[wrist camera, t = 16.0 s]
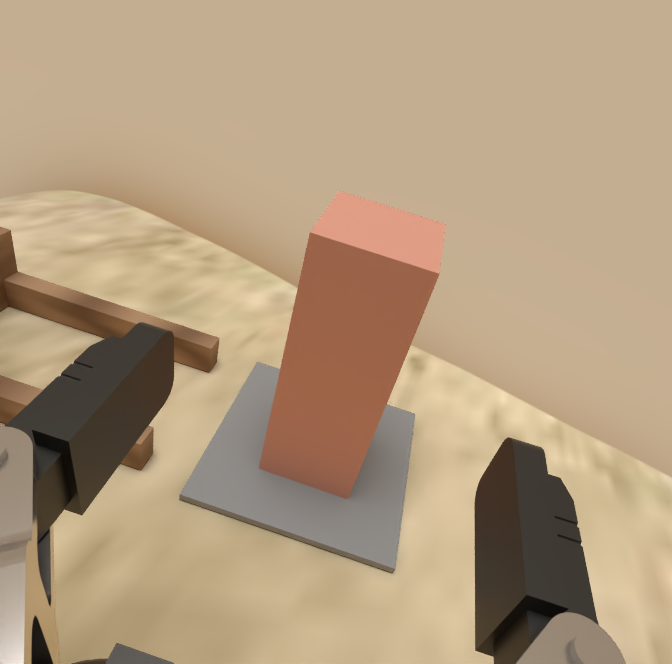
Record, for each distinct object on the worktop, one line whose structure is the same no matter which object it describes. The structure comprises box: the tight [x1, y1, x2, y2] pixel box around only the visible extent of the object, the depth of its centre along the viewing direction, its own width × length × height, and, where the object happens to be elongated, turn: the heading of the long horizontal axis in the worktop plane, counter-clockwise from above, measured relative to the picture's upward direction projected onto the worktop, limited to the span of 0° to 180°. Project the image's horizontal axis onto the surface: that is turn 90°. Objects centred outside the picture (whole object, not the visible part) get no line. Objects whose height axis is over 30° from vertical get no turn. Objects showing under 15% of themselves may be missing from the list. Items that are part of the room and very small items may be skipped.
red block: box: [259, 191, 446, 499], centre depth 24 cm, size 5×5×14 cm
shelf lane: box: [0, 227, 219, 470], centre depth 28 cm, size 16×9×5 cm, turn 76°
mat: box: [179, 362, 415, 573], centre depth 29 cm, size 11×11×1 cm
